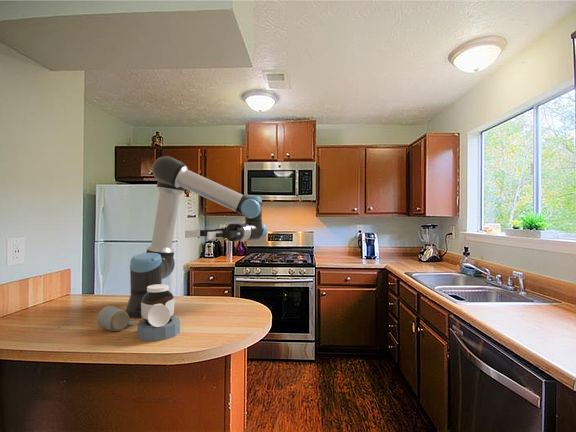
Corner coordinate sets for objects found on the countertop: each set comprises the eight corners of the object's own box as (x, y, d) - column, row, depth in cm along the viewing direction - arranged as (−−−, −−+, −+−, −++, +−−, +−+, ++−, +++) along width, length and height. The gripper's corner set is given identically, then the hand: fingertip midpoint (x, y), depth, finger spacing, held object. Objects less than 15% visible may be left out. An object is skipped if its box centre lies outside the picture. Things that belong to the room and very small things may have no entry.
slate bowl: (130, 334, 110) (130, 322, 110) (165, 324, 120) (165, 313, 120) (151, 344, 102) (151, 331, 102) (187, 332, 112) (187, 320, 112)
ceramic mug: (111, 335, 110) (111, 311, 110) (96, 330, 114) (96, 308, 114) (138, 326, 119) (139, 304, 119) (124, 322, 123) (124, 301, 123)
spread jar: (163, 314, 118) (162, 282, 118) (185, 320, 113) (184, 285, 113) (132, 324, 108) (131, 288, 108) (154, 331, 102) (154, 293, 102)
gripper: (259, 242, 135) (218, 246, 118) (218, 239, 150) (177, 243, 133) (259, 224, 134) (218, 225, 118) (218, 223, 150) (177, 224, 133)
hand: (196, 235), depth 125 cm, fingers open, 13 cm apart
